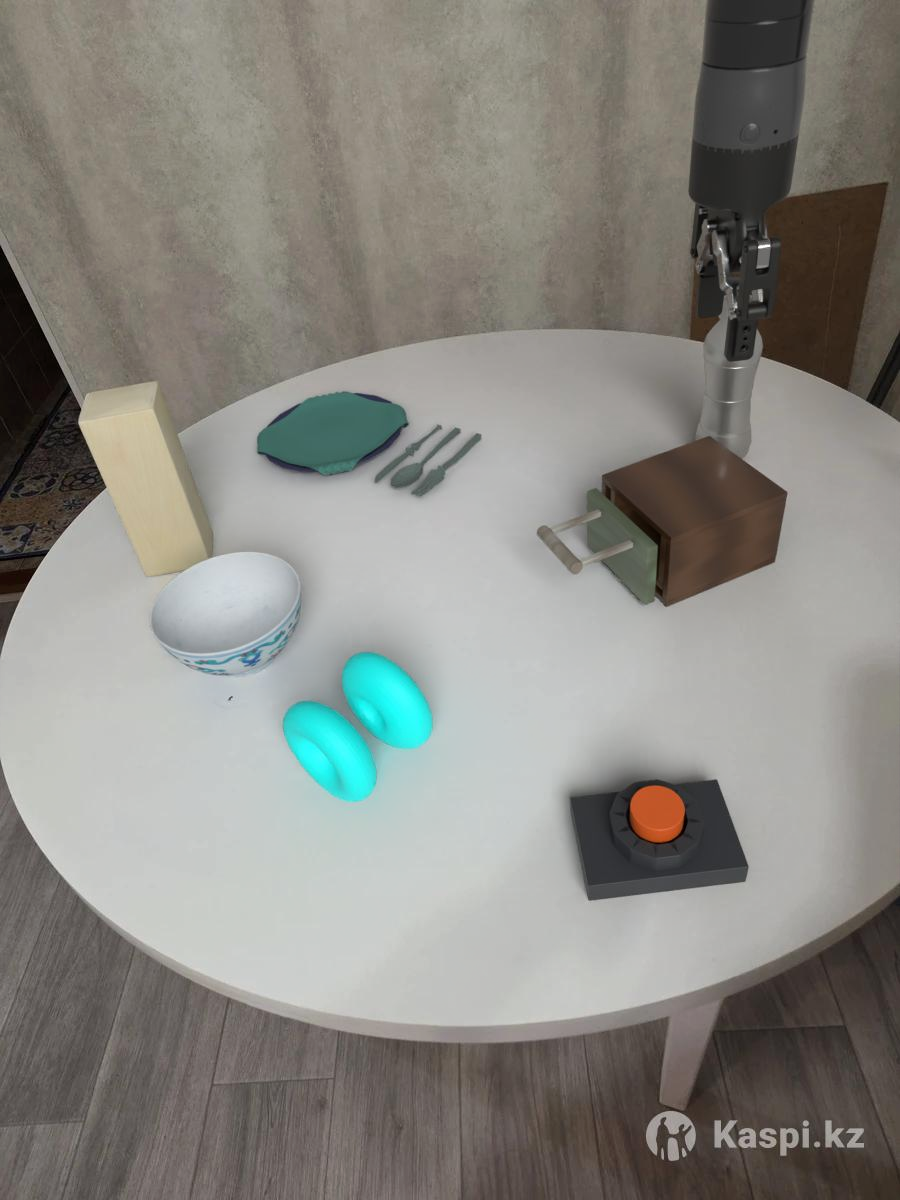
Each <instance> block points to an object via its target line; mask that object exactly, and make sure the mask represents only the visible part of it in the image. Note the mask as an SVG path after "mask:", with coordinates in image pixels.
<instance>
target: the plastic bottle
mask: <svg viewBox="0 0 900 1200" xmlns="http://www.w3.org/2000/svg"><path fill="white" fill-rule="evenodd" d="M749 301H752V294H750V296H749ZM728 316H729V315H728V302H727V294H726V295H725V294H724V300H723V309H722V313H721V314H720V315H719V316H717V317H718V319H719V321H717V322H716V323H715V324H714V325H713V326H712V328H711V329H710V330H709V332H707V334H706V336H705V338H704V341H703V344H702V345H703V346H702V347H703V352H702V353H703V367H704V392H703V393H704V396H703V403H702V408H701V413H700V419H699V422H698V424H697V427H696V433H695V439H694V440H695V441H696V440H699V439H702V438H704V437H707V436H711V437H712V438H714V439H715V440H716V441H718V442H719V443H720V444H722V445H723V446H725V447H726V448H727V449H729V450H730V451H731V452H733V453H734V454H736V455H737V456H738V457H740V458H741V459H743V460H744V458H745V457H746V456H747V454H748V453H749V450H750V447H751V444H752V424H751V410H752V409H751V405H752V396H753V390H754V384H755V379H756V375H757V371H758V368H759V365H760V362H761V357H762V354H763V349H764V343H763V337H762V336H761V334H760V332H759V330H758V329H757V332H756V339H755V346H754V353H753V356H752V357H751V358H750V359H748V360H743V361H735V362H729V361H727V359H726V358H725V356H724V349H725V340H726V331H727V322H728Z"/></svg>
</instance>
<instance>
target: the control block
mask: <svg viewBox="0 0 900 1200" xmlns="http://www.w3.org/2000/svg"><path fill="white" fill-rule="evenodd" d="M653 785H656V786H663V787H666V788H669V789H671V790H672V791H674V792H675V793H676V794H677V795H678V796H679V797H680V798H681V800H682V801H683V804H684V808H685V813H684V822H683V828H682V830H681V832H680V834H679V835H678V836H677V837H675V838H674V839H672V840H670V841H668V842H663V843H655V842H650V841H647V840H645V839H643V838H642V837H640V836H639V835H638V834H637V833H636V832H635V831H634V830H633V828H632V826H631V823H630V803H631V799H632V797H633V796H634V794H635V793H636V792H637V791H639V790H640V789H642V788H644V787H647V786H653ZM569 801H570V802H569V803H570V804H569V805H570V816H571V821H572V826H573V831H574V835H575V841H576V845H577V850H578V855H579V860H580V866H581V871H582V875H583V880H584V883H585V884H584V885H585V890H586V895H587V899H588V901H590V902H591V901H598V900H609V899H617V898H623V897H632V896H641V895H648V894H649V895H650V894H656V893H657V894H658V893H665V892H674V891H680V890H681V891H682V890H689V889H697V888H698V889H699V888H705V887H713V886H722V885H731V884H740V883H745V882H746V881H747V878H748V873H749V869H750V866H749V863H748V861H747V858H746V855H745V852H744V850H743V847H742V844H741V841H740V839H739V836H738V832H737V830H736V828H735V824H734V822H733V820H732V817H731V814H730V811H729V808H728V805H727V803H726V800H725V797H724V795H723V791H722V789H721V786H720V784H719V781H718V779H716V778H715V779H707V780H701V781H692V782H684V783H677V784H676V783H675V784H674V783H671V782H668V781H664V780H661V779H648V780H640V781H634V782H632V783H630V785H628V786H626V787H625V788H624V789H622V790H620V791H612V792H604V793H597V794H596V793H595V794H588V795H580V796H573V797H572V796H571V797H570V799H569Z"/></svg>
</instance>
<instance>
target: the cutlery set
mask: <svg viewBox="0 0 900 1200" xmlns="http://www.w3.org/2000/svg"><path fill="white" fill-rule="evenodd" d="M409 425H410V423H409V421H408V418H407V413H406V410H405V408H404V407H403V406H401V405H400V404H398V403H393V402H392V401H390V400H388V399H386V398H383V397H381V396H380V395H379V396H378V395H375V394H369V393H363V392H361V393H360V392H350V391H347V390H344V391H341V392H338V391H336V392H334V393H328V394H322V395H320V396H319V395H315V396H313V397H308V398H305V400H304V401H302V402H301V403H298V404H295V405H294V406H292V407H290V408H288V409H287V410H284V411H283V412H281V413H279V414H278V415H277V416H276V417H275V418H274V419H272V421H270V423H268V424H267V426H266V427H265V428H263V429H261V431H259V432H258V435H257V437H256V442H257V443H256V444H257V445H256V447H257V449H256V454H257V455H260V456H265V457H266V458H267V459H268V461H269V462H271V463H273V464H275V465H277V466H279V467H281V468H282V469H287V470H290V471H291V470H292V471H296V472H302V473H309V472H310V473H312V472H313V473H317V472H319V474H322V475H325V476H330V475H334V474H335V475H336V474H338V473H345V472H351V471H352V470H353V469H354V467H355V466H356V465H358V464H360V463H363V462H366V461H368V460H371V459H373V458H374V457H376V456H377V455H379V454H380V453H382V452H384V451H386V450H387V449H388V448H389V447H390V446H391V445H392V444H393V443H394V442H395V441H396V440H397V439H398V437H400V435H401V431H402V428H407V427H408V426H409ZM442 430H443V427H442V425H441V424H438V423H437V424H436V427H434V428H433V429H432V430H431V431H430V432H429V433H428V434H426V435H425V436H424V437H422V438H421V439H419V440H418V441H417V442H413V443H410V447H405V452H404V453H402V454H400V455H399V456H397V457H396V458H395V459H393V460H392V461H391V462H390V463H389V464H387V465H386V466H385V467H384V468H383V469H381V470H380V471H379V472H378V473H377V474H376V475H375V476H374V484H377V483H379V482H380V481H381V480H382V479H383V478H384V477H386V476H387V475H388V474H389V473H390V472H392V471H393V470H394V469H395V468H397V467H398V466H399V465H400V464H401V463H403V461H405V460H406V459H407V458H409V456H410V457H413V458H414V457H415V456H414V455H415V454H414V453H415V452H417V451H419V450H420V447H421V445H422V444H423V443H425V442H426V441H427V440H428V439H429V438H430V437H431V436H433V435H434V434H435V433H437V432H438V431H442ZM460 434H462V432H461V428H459V427H454V428H453V429H451V431H449V432H448V433H447V435H446V436H444V437H443V438H442V440H441V441H439V443H437V444H436V445H435V447H434V448H432V450H430V452H429V453H428V454H427V455H426V456H425V457H424V458H423V459H422V461H421V462H415V463H412V464H407V465H405V466H404V467H402V468H400V469H399V470H397V471H396V472H395V473H394V474H393V476H392V477H391V478H390V485H389V487H392V488H397V489H400V488H403V487H407V486H410V485H412V484H413V483H415V482H416V481H418V480H419V479H420V477H421V476H422V475H423V472H424V465H425V464H426V463H428V461H429V460H430V459H431V458H433V457H434V456H435V455H436V454H437V453H438V452H439V451H440V450H441V449H442V448H443V447H445V446H447V444H449V442H451V441H452V440H453V439H454V438H456V437H458V435H460ZM480 441H482V434H481V433H477V432H476V433H475V434H474V435H473V436H472V437H471V438H470V439H469V440H468V441H467V442H466V443H465V444H464V445H463V446H462V448H460V450H458V451H457V452H456V454H454V455H453V456H452V457H451V458H450V459H449V460H447V461H446V462H444V463H443V464H442V465H437V468H435V469H430V471H429V473H428V474H427V475H426V477H424V478H423V480H422V481H421V482H420V484H418V485H417V487H415V488H414V490H412V491H411V492H410V495H414V496H416V497H417V496H418V497H419V498H421V497H423V496H425V494H427V493H428V492H429V491H430V490H432V489H433V488H434V487H435V486H437V485H438V484H440V482H442V481H443V480H444V479H445V475H446V471H447V470H448V469H449V468H451V467H452V466H454V465H455V464H457V462H459V461H460V460H461V459H462V458H463V457H464V456H465V455H466V454H467V453H468V452H469V451H470V450H471V449H472V448H473V447H474V446H475V445H476V444H477V443H479V442H480Z"/></svg>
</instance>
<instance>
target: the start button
mask: <svg viewBox="0 0 900 1200" xmlns="http://www.w3.org/2000/svg"><path fill="white" fill-rule="evenodd" d="M684 813H685V808H684V804H683V801H682V800H681V798H680V797H679V796H678V795H677V794H676V793H675V792H674V791H672V790H671V789H669V788H666V787H663V786H656V785H653V786H647V787H644V788H642V789H640V790H639V791H637V792H636V793H635V794H634V796H633V797H632V799H631V803H630V823H631V826H632V828H633V830H634V831H635V832H636V833H637V834H638V835H639V836H640V837H642V838H643V839H645V840H647V841H650V842H655V843H663V842H668V841H670V840H672V839H674V838H675V837H677V836H678V835H679V834H680V832H681V830H682V828H683V822H684Z"/></svg>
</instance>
